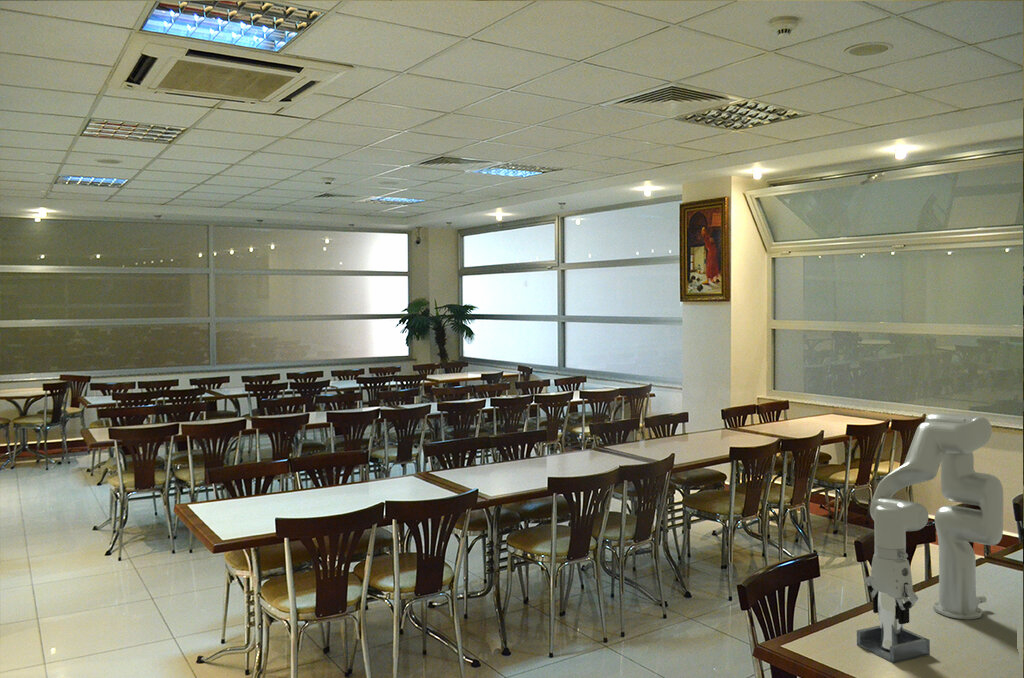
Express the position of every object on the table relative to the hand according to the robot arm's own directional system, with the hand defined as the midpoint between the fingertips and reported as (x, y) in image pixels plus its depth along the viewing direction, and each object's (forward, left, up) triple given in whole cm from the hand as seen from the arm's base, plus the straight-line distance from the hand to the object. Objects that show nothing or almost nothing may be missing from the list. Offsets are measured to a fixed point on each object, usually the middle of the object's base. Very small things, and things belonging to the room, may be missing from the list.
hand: (891, 617), depth 209 cm
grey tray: (0, 0, -9) cm, 9 cm away
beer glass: (0, 0, -8) cm, 8 cm away
